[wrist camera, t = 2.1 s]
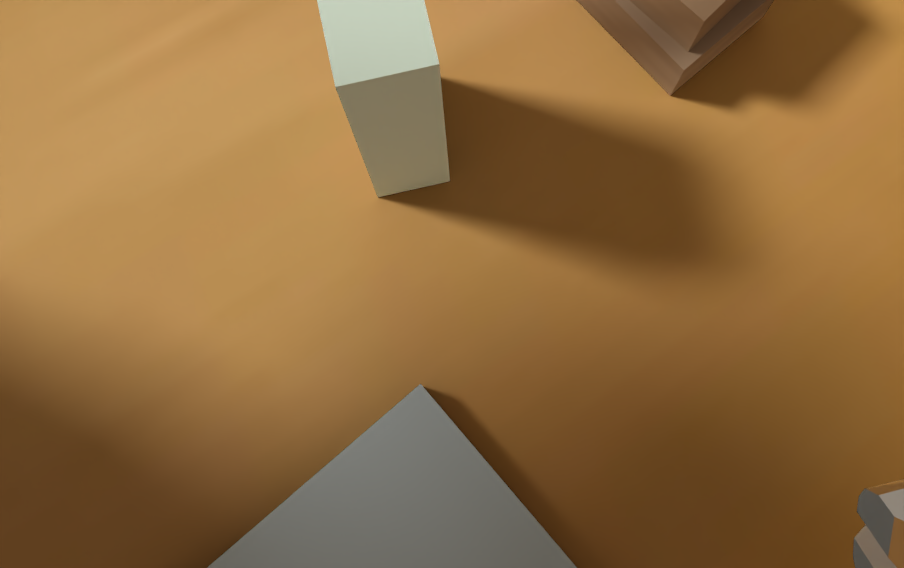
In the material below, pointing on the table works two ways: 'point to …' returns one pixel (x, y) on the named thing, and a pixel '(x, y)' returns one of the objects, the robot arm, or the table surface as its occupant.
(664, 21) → the offcut stack
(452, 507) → the slate mat
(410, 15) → the tall block
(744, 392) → the table surface
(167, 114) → the table surface
